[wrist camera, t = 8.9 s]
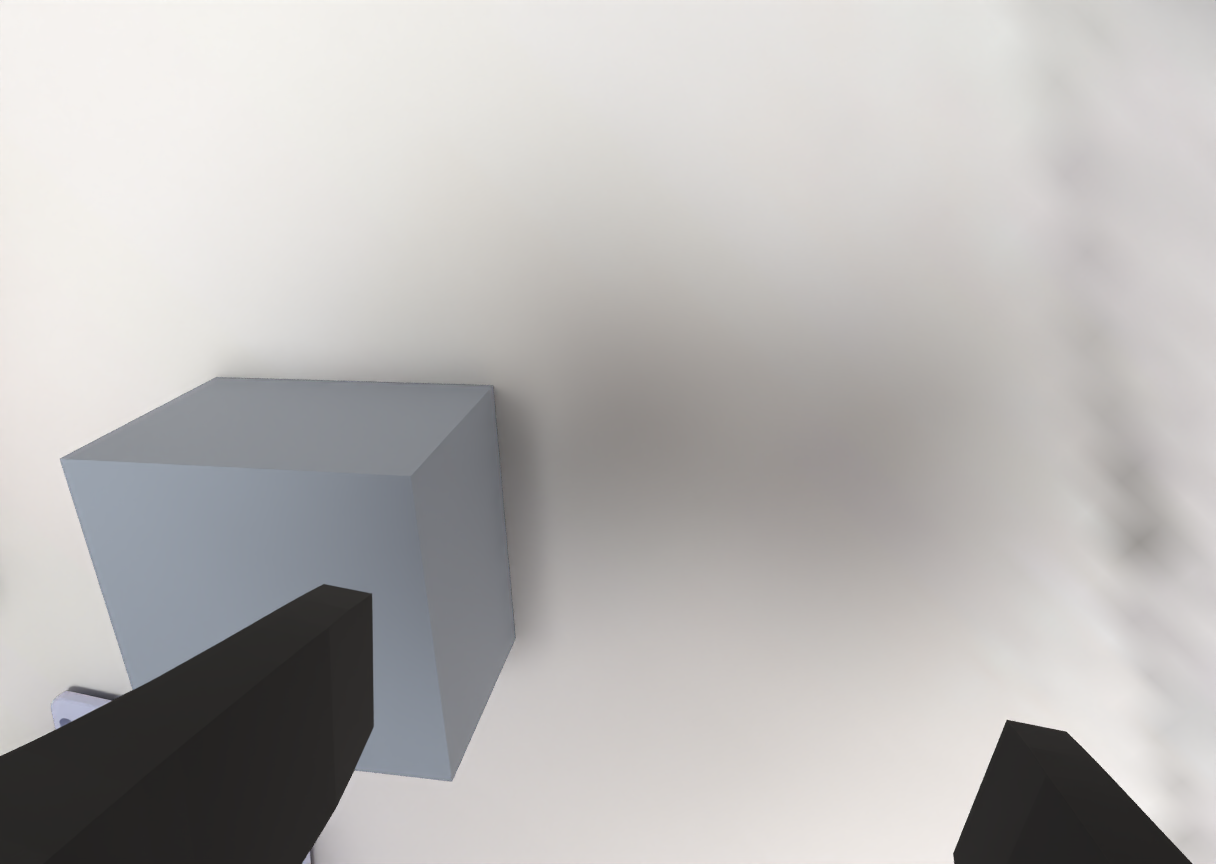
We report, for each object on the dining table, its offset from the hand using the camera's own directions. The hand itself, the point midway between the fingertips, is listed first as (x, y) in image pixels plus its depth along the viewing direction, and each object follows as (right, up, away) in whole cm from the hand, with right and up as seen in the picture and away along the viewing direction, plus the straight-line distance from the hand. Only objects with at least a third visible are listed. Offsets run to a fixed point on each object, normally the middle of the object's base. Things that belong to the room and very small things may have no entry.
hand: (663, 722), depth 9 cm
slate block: (-7, +1, +11) cm, 13 cm away
